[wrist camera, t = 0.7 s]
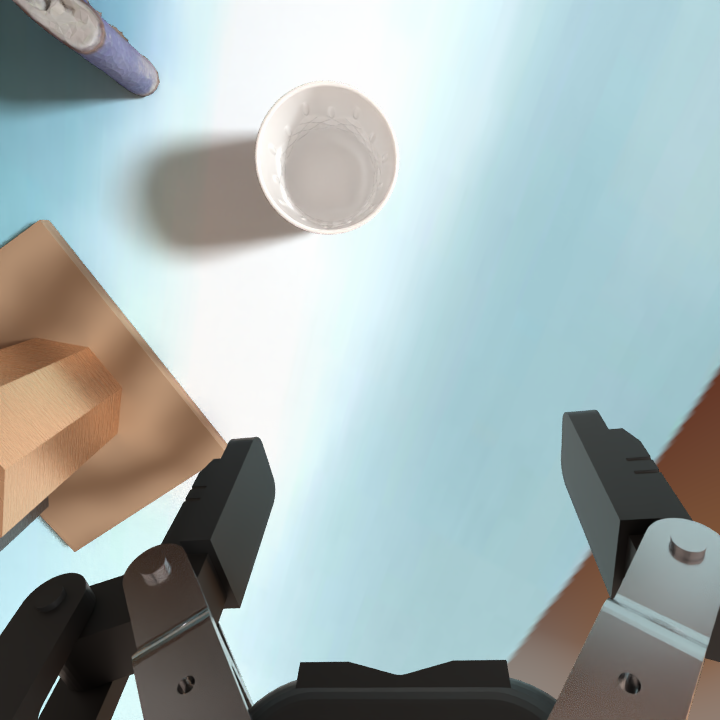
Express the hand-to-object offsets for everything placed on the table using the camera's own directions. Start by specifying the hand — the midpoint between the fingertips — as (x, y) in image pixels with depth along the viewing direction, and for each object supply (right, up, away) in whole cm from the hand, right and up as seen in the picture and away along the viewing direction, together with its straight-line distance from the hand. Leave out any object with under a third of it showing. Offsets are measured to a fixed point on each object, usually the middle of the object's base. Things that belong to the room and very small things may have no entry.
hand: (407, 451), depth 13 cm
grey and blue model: (-19, +24, +21) cm, 37 cm away
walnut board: (-25, 0, +27) cm, 36 cm away
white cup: (-3, +16, +24) cm, 29 cm away
